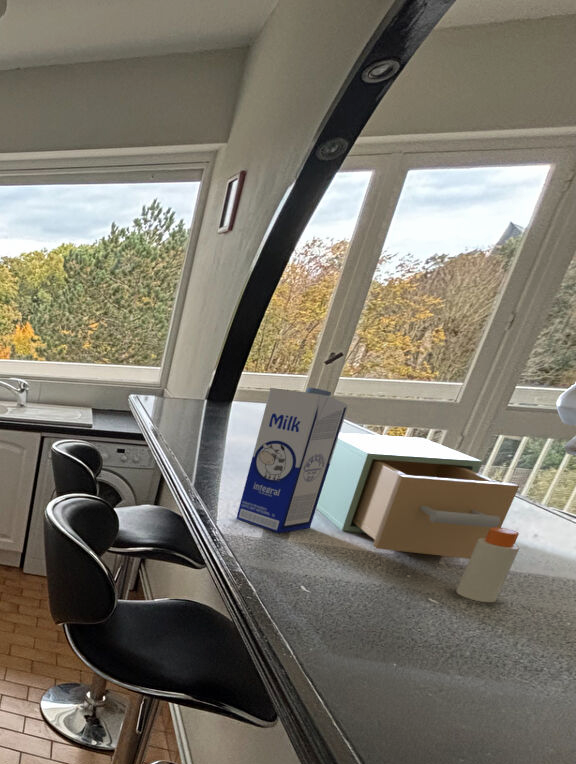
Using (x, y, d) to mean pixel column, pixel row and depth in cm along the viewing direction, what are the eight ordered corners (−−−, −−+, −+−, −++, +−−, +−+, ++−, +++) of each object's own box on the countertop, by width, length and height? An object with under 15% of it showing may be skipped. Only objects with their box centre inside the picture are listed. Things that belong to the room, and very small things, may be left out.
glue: (484, 592, 68) (514, 527, 65) (502, 604, 65) (533, 537, 62) (449, 587, 69) (477, 523, 66) (465, 599, 66) (494, 533, 63)
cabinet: (449, 542, 82) (483, 461, 78) (341, 530, 86) (367, 453, 82) (397, 508, 96) (423, 438, 91) (306, 500, 100) (326, 432, 95)
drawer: (507, 574, 70) (543, 495, 67) (391, 560, 74) (419, 485, 70) (427, 523, 87) (452, 458, 83) (334, 514, 90) (355, 451, 87)
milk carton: (234, 518, 91) (269, 385, 84) (265, 513, 93) (301, 384, 86) (279, 533, 85) (321, 392, 77) (311, 528, 87) (354, 390, 80)
